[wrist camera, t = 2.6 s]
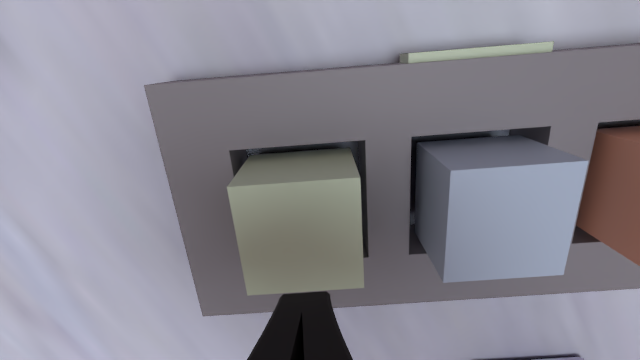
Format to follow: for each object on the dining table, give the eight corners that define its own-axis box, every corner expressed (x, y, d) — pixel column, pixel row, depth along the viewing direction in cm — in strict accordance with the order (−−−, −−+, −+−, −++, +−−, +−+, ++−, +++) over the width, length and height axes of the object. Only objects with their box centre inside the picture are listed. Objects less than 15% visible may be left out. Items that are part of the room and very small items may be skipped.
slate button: (506, 225, 17) (563, 274, 13) (414, 231, 17) (443, 282, 13) (519, 134, 15) (588, 160, 11) (416, 142, 15) (450, 170, 11)
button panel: (676, 250, 20) (736, 282, 17) (218, 280, 20) (202, 316, 17) (756, 25, 15) (854, 16, 13) (172, 72, 16) (141, 75, 13)
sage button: (353, 235, 17) (364, 287, 13) (263, 241, 17) (247, 295, 13) (349, 147, 15) (360, 177, 12) (249, 155, 16) (226, 187, 12)
